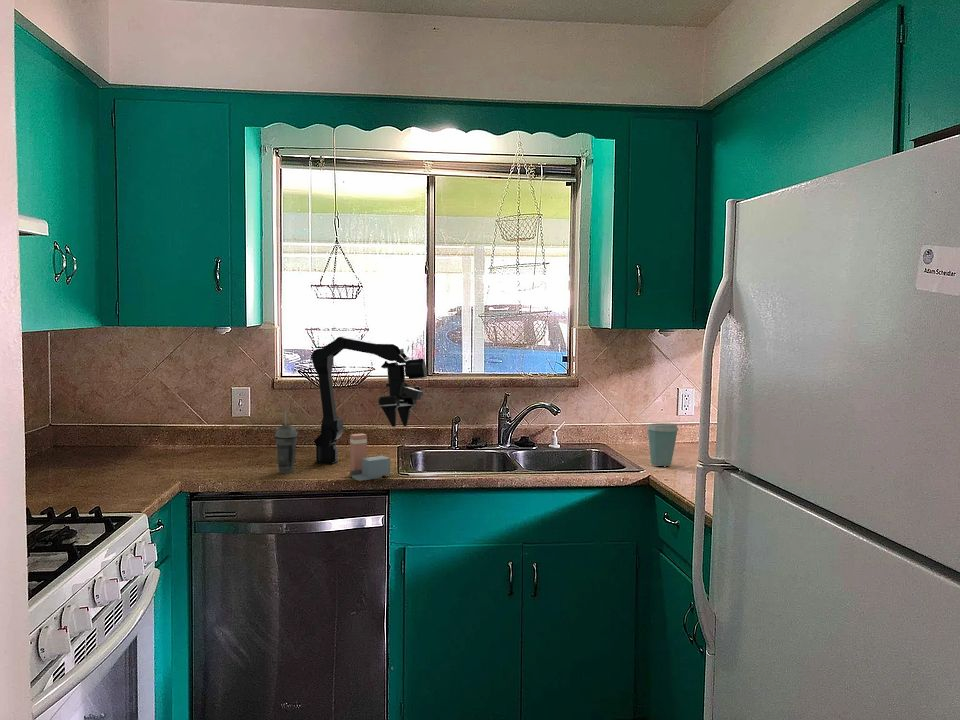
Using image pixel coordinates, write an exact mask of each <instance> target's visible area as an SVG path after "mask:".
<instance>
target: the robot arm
mask: <svg viewBox="0 0 960 720" xmlns="http://www.w3.org/2000/svg"><path fill="white" fill-rule="evenodd" d="M343 350H350V351H355V352H360V353H361V352H362V353H366V354H371V355H375V356H377V357H379V358H381V359H383V360H385V361H384V363H383V364H382V365H380V368H382V369H387V370H386V371H387V381H388V382H387V383H386V384H385V387H386V388H388V395H385V396H380V397H379V398H378V401H377V402H378V406H380V409H381V410H382V411H383V412H384V415H385V416H386V418H387V419H388V422H389V424H390V426H391V427H394V428H395V427H396V425H397V412H398V414H399V418H400V420H401V421H400V422H401V423H402V426H403V427H407V426H408V422H409V417H410V413H411V411H412V410H413V408H415V407H416V405H417V403H418V402H417V401H421V399H422V397H423V396H424V390H423V388H422V387H420V386H418V385H417V386H414V387H409V383H408V382H406V378H408V379H409V380H417V379H419V380H420V379H426V378H427V377H428V367H427V365H426V361H425V358H424V357H420V358H416V359H411V358H410V357H409V356H408V355H407V353H405V350H404V348H403V345H401V344H400V343H389V342H388V343H377V342H372V341H365V340H360V339H355V338H349V337H346V336H338V337H337V338H336V339H334V340H332V341H331V342H330V343H328V344H326V345H325V346H323V347H322V348H316V349H314V350H313V352H312V353H311V357H310V358H311V362H312V364H313V368H314V370H315V372H316V374H317V376H318V385H319V393H320V399H321V400H320V401H321V408H322V410H321V411H322V420H321V423H320V425H321V426H320V434H319V435H318V436H317V437H316V438H315V439H314V440H313V442H314V445H315V447H316V449H315V450H316V451H315V455H316V456H315V461H314V464H323V465H324V464H327V465H332V464H334V463H336V462H338V461H339V449H338V448H337V442H338V440H339V438H341V436H342V435H343V434H344V433H343V432H344V430H345V427H344V420H343V418H342V417H341V418H339V417H338V415H337V410H336V409H337V408H336V401H335V393H334V385H333V375H332V373H333V366H334V358H335V356H337V355H338V354H340V353H341V351H343Z"/></svg>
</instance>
